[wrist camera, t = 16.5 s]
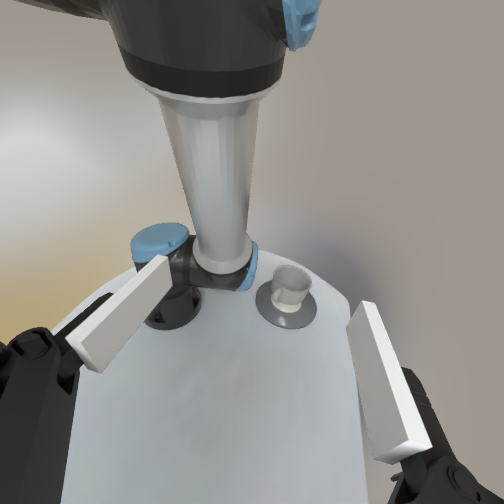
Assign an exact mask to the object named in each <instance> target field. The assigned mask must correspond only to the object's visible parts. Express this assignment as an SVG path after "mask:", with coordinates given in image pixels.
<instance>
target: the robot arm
mask: <svg viewBox="0 0 504 504" xmlns="http://www.w3.org/2000/svg"><path fill="white" fill-rule="evenodd" d="M14 1H18V2H21V3H25V4H29V5H33V6H36V7H40V8H44V9H48V10H52V11H57V12H62V13H67V14H72V15H75V16H81V17H89V18H95V19H99V20H106V21H108V22H109V23H110V25H111V28H112V30H113V33H114V36H115V39H116V41H117V44H118V47H119V49H120V52H121V55H122V58H123V60H124V63H125V66H126V68H127V71H128V73H129V75H130V77H131V78H132V79H133V80H134V81H135V82H136V83H137V84H139V85H140V86H141V87H143V88H144V89H145V90H147V91H148V92H149V93H151V94H152V95H153V96H155V97H156V98H157V99H158V100H159V104H160V107H161V111H162V115H163V118H164V122H165V125H166V129H167V132H168V136H169V139H170V143H171V146H172V150H173V154H174V157H175V161H176V164H177V168H178V171H179V174H180V178H181V182H182V185H183V189H184V192H185V195H186V200H187V203H188V206H189V210H190V214H191V217H192V221H193V224H194V228H195V231H196V235H189V231H188V229H187V227H186V226H183V225H182V224H179V223H162V224H156V225H153V226H150V227H147V228H145V229H143V230H141V231H140V232H138V233H137V234H136V235H135V236H134V237H133V239H132V241H131V251H132V259H133V261H134V263H135V267H136V270H137V274H136V275H135V276H133V277H132V278H131V279H130V280H129V281H128V282H127V283H126V284H125V285H123V286H122V287H121V288H120V289H119V290H118V291H117V292H116V293H115V294H114V293H110V292H109V293H107V294H105V295H103V296H101V297H99V298H98V299H97V300H96V301H94V302H93V303H92V304H91V305H90V307H87V308H86V309H85V310H84V311H83V313H80V314H79V315H78V316H77V317H76V318H74V319H73V320H72V321H71V322H70V323H69V324H67V325H66V326H65V327H64V328H63V329H62V330H60V331H59V332H58V333H57V334H56V335H54V336H53V335H52V333H51V332H50V331H49V330H48V329H47V328H43V327H37V328H32V329H29V330H27V331H25V332H23V333H21V334H19V335H17V336H16V337H15V338H14V339H12V340H11V341H10V342H9V344H8V345H7V346H6V345H4V344H3V343H2V342H0V504H60V503H61V496H62V490H63V483H64V476H65V469H66V463H67V456H68V449H69V443H70V436H71V429H72V423H73V416H74V409H75V402H76V396H77V389H78V382H79V376H80V371H79V368H80V367H81V366H82V365H83V364H84V365H85V366H86V367H87V369H88V370H91V371H95V372H98V373H102V372H103V371H104V370H105V368H106V367H107V366H108V365H109V363H110V362H111V361H112V360H113V358H114V357H115V356H116V355H117V354H118V352H119V351H120V350H121V349H122V347H123V346H124V345H125V344H126V342H127V341H128V340H129V339H130V337H131V336H132V335H133V334H134V333H135V331H136V330H137V329H138V328H139V326H140V325H141V324H142V323H143V321H144V322H145V323H146V324H147V325H148V326H150V327H151V328H154V329H158V330H171V329H176V328H179V327H181V326H184V325H185V324H187V323H189V322H190V321H191V320H192V319H193V318H194V317H195V316H196V315H197V314H198V312H199V310H200V307H201V297H200V293H199V291H198V289H197V287H204V288H215V289H226V290H232V291H245V290H248V289H249V288H250V287H251V285H252V283H253V280H254V276H255V272H256V268H257V261H258V246H257V244H256V243H255V242H253V241H251V239H250V237H249V236H248V234H247V233H246V229H247V218H248V208H249V198H250V188H251V178H252V168H253V158H254V147H255V139H256V129H257V119H258V109H259V102H260V101H261V100H262V99H263V98H264V97H265V96H266V95H267V94H269V93H270V92H271V91H272V90H273V89H274V88H275V87H276V86H277V85H278V83H279V82H280V78H281V74H282V68H283V62H284V56H285V51H286V48H287V47H288V48H289V50H290V51H293V52H294V51H296V50H297V49H298V48H301V47H305V46H306V45H307V44H308V43H309V41H310V40H311V38H312V35H313V33H314V30H315V27H316V22H317V17H318V12H319V6H320V4H321V2H322V0H14ZM346 331H347V336H348V341H349V345H350V350H351V355H352V360H353V364H354V369H355V374H356V379H357V383H358V388H359V393H360V398H361V402H362V407H363V411H364V417H365V421H366V426H367V431H368V436H369V440H370V445H371V450H372V455H373V459H375V460H378V461H382V462H385V463H388V464H391V465H393V464H396V463H398V462H400V463H401V467H402V470H403V472H400V473H398V474H395V475H393V476H392V477H391V480H392V481H393V482H394V481H397V483H396V485H395V487H394V490H393V492H392V494H391V497H390V499H389V501H388V504H504V500H503V499H501V498H500V497H498V496H497V495H495V494H494V493H492V492H491V491H489V490H487V489H486V488H484V487H483V486H482V485H480V484H479V483H478V482H477V480H476V479H475V477H474V476H473V475H472V474H471V473H470V471H469V470H468V469H467V468H466V467H465V466H463V465H462V464H461V463H460V462H458V460H457V459H456V457H455V455H454V453H453V452H452V449H451V447H450V445H449V443H448V441H447V439H446V437H445V434H444V432H443V430H442V428H441V425H440V423H439V421H438V419H437V417H436V414H435V412H434V410H433V409H432V408H431V403H430V401H429V399H428V397H426V392H425V390H424V388H423V386H422V384H421V382H420V380H419V379H418V378H417V377H416V375H415V374H414V373H413V371H412V370H411V369H407V368H404V367H400V365H399V362H398V360H397V357H396V355H395V352H394V350H393V347H392V345H391V342H390V340H389V337H388V335H387V332H386V330H385V327H384V325H383V322H382V320H381V317H380V315H379V312H378V310H377V307H376V305H375V303H371V302H367V301H361V303H360V305H359V306H358V308H357V310H356V311H355V313H354V315H353V316H352V318H351V320H350V321H349V323H348V325H347V326H346Z"/></svg>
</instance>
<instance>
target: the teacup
mask: <svg viewBox="0 0 504 504" xmlns="http://www.w3.org/2000/svg"><path fill="white" fill-rule="evenodd" d="M311 285H312V281H311V279H310V277H309V276H308V274H307V273H306V272H304V271H303V270H301V269H299V268H297V267H294V266H289V265H284V266H280V267H278V268H277V269H276V270H275V271H274V276H273V280H272V285H271V290H272V293H273V296H272V300H273V301H274V302H282V303H284V304H287V305H296V304H299V303H301V302H302V301H303V300H304V298H305V297H306V295H307V293H308V291H309V289H310V288H311Z"/></svg>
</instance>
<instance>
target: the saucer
mask: <svg viewBox="0 0 504 504" xmlns="http://www.w3.org/2000/svg"><path fill="white" fill-rule="evenodd" d="M271 285H272V281H269V282H266V283H264V284H263V285H262V286H261V287H260V288H259V289H258V291H257V294H256V306H257V308H258V310H259V312H260V314H261V315H262V316H263V317H264V318H265V319H266V320H267V321H269V322H270V323H272V324H274V325H276V326H278V327H281V328H285V329H299V328H303V327H305V326H307V325H309V324H310V323H311V322H312V321H313V319H314V317H315V315H316V311H317V307H316V302H315V300H314V298H313V296H312V295H311V294H310V293H309V292H308V293H307V295H306V297H305V298H304V300H303V301H302V302H301V303H299V304H296V305H287V304H284V303H282V302H274V301H273V300H272V296H273V293H272V290H271Z"/></svg>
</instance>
